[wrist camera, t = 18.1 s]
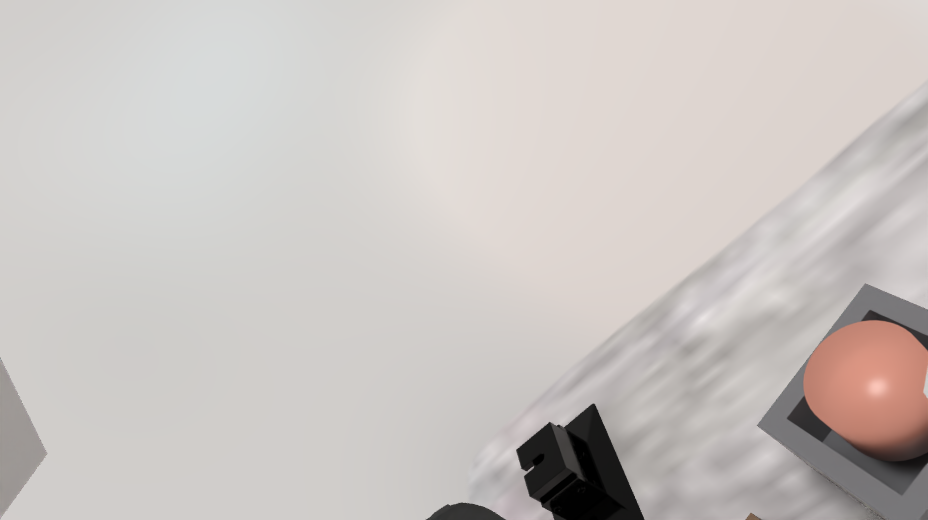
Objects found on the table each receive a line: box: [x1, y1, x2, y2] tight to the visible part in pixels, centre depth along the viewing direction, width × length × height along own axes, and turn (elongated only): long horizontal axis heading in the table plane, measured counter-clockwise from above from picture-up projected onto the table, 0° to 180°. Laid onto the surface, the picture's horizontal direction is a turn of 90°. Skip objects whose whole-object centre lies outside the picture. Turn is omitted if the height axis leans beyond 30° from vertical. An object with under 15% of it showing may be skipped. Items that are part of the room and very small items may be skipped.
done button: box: [803, 320, 928, 461], centre depth 33 cm, size 5×5×3 cm
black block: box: [516, 404, 644, 520], centre depth 48 cm, size 12×7×5 cm, turn 13°
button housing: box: [757, 284, 928, 520], centre depth 34 cm, size 8×8×5 cm
